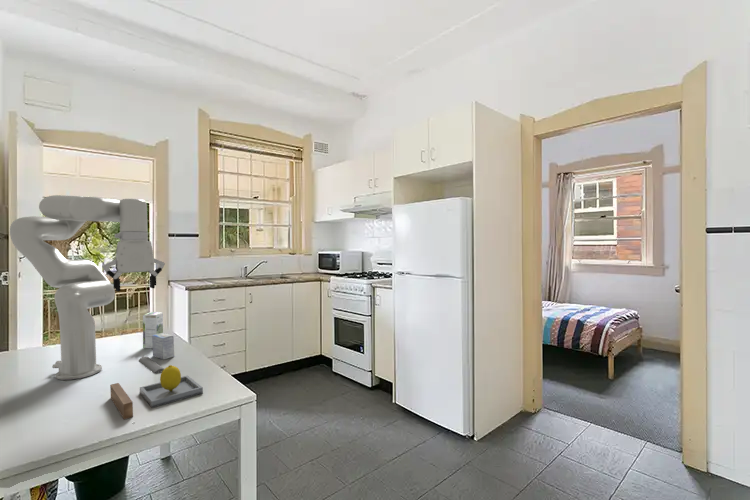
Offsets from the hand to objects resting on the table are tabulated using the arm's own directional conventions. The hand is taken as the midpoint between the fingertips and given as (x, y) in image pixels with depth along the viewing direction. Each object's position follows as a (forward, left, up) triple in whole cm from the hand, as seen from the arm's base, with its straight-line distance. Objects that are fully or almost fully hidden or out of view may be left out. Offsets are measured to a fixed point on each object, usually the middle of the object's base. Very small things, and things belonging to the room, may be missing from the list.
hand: (135, 289), depth 122 cm
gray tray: (+17, -9, -30) cm, 36 cm away
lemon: (+17, -9, -30) cm, 35 cm away
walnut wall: (+9, -19, -30) cm, 36 cm away
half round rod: (-5, +14, -31) cm, 34 cm away
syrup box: (-20, +37, -31) cm, 52 cm away
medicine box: (-7, +24, -31) cm, 39 cm away
